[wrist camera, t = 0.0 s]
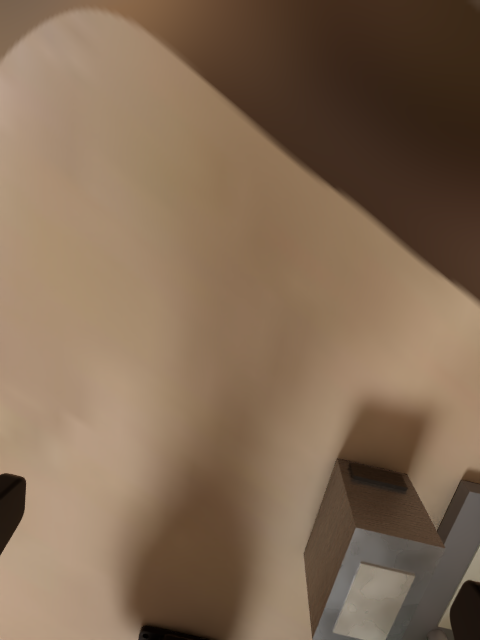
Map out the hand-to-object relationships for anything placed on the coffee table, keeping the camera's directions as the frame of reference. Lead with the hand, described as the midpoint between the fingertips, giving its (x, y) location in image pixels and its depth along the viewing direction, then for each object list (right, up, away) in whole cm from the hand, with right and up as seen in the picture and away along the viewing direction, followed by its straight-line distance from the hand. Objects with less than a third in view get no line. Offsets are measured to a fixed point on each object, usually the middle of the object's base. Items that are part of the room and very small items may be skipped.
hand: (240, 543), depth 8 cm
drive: (+7, -8, +17) cm, 21 cm away
